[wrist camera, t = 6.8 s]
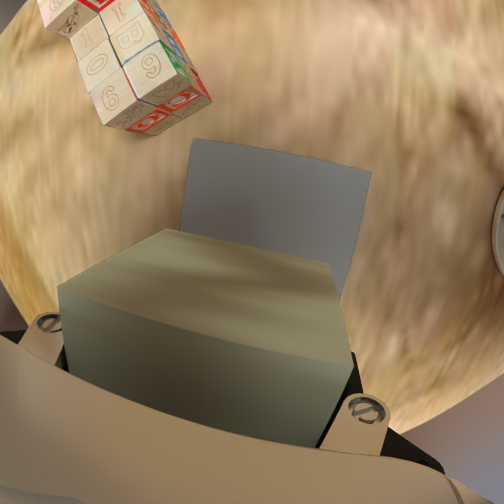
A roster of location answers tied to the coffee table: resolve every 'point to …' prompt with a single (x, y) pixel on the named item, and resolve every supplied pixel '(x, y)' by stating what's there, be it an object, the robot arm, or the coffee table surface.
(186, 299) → the sage cube
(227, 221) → the plinth
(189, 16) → the coffee table surface
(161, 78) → the stack of blocks
